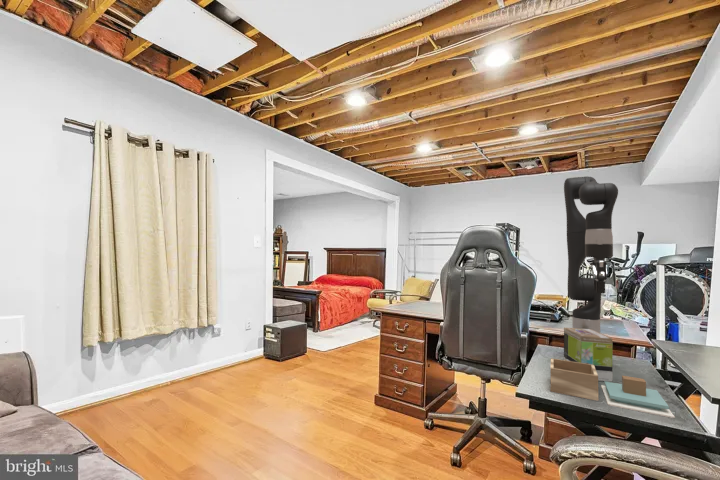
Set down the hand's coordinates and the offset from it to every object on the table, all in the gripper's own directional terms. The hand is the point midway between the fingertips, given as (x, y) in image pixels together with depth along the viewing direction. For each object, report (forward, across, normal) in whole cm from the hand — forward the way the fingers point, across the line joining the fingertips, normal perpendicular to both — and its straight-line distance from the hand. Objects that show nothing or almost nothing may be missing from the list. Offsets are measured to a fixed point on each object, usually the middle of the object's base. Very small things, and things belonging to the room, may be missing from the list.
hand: (599, 292), depth 110 cm
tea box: (+30, -10, -3) cm, 32 cm away
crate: (+30, +10, -8) cm, 33 cm away
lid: (+30, +10, +7) cm, 32 cm away
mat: (+30, +10, +7) cm, 32 cm away
